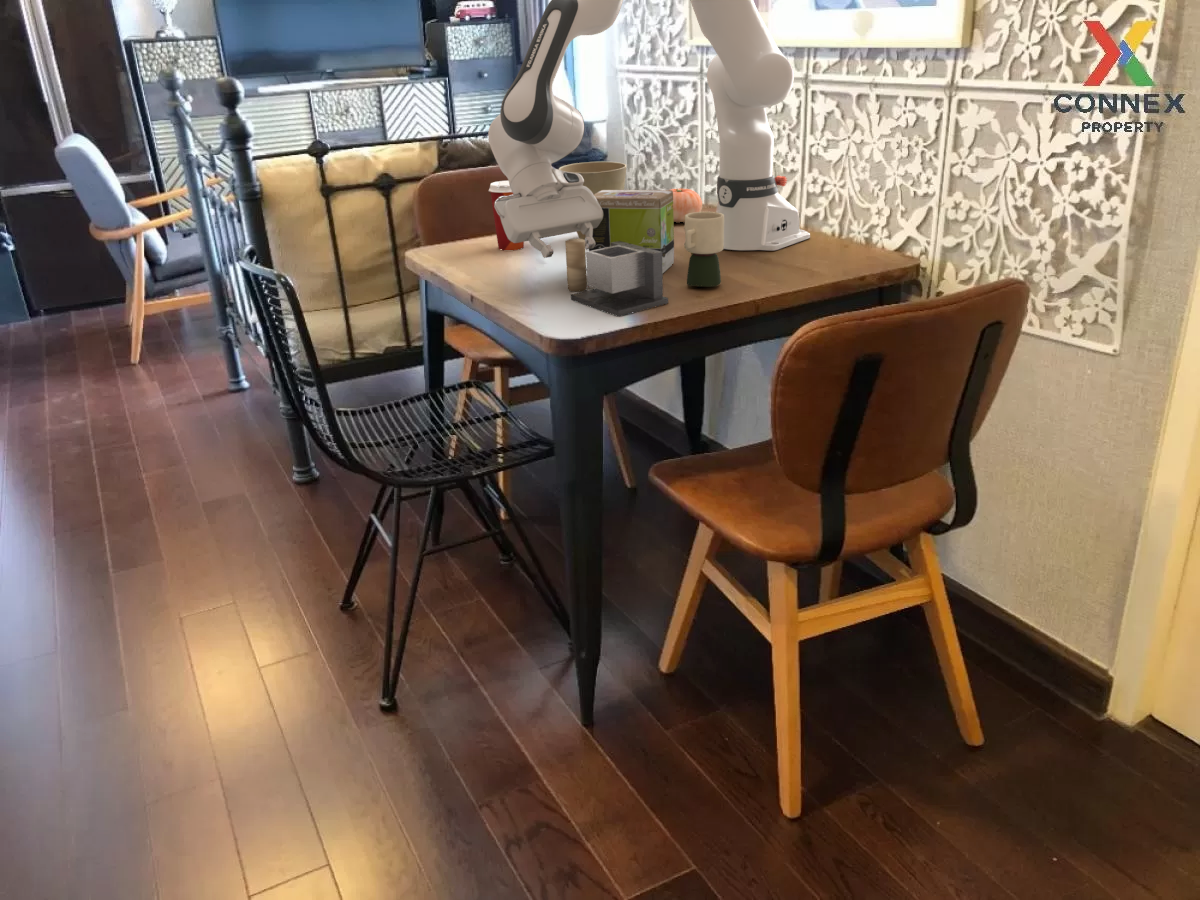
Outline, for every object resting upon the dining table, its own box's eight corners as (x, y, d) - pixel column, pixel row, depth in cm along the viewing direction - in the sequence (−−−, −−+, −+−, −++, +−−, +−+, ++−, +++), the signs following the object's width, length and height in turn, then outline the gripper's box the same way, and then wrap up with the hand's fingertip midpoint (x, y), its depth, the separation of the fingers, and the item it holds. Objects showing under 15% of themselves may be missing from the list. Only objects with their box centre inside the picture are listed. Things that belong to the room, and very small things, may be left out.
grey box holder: (619, 288, 173) (617, 239, 169) (668, 303, 163) (667, 252, 159) (570, 299, 167) (568, 249, 164) (618, 316, 157) (616, 263, 153)
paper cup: (523, 252, 202) (518, 186, 196) (489, 251, 204) (483, 186, 198) (532, 243, 209) (528, 179, 203) (499, 243, 211) (494, 179, 205)
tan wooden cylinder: (579, 285, 176) (577, 237, 172) (590, 289, 173) (588, 240, 170) (564, 289, 174) (561, 240, 170) (575, 292, 171) (572, 244, 168)
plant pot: (588, 229, 220) (585, 160, 213) (640, 235, 212) (639, 163, 205) (549, 242, 209) (544, 169, 202) (603, 249, 201) (600, 173, 195)
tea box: (675, 263, 188) (674, 188, 182) (661, 276, 180) (661, 198, 173) (604, 260, 193) (602, 187, 187) (588, 272, 184) (585, 196, 178)
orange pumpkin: (710, 219, 226) (711, 185, 222) (685, 227, 218) (685, 193, 215) (673, 215, 232) (673, 182, 229) (648, 223, 224) (647, 189, 221)
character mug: (704, 277, 178) (704, 208, 172) (736, 282, 174) (737, 211, 168) (670, 290, 171) (670, 218, 165) (703, 296, 166) (704, 222, 161)
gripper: (495, 187, 167) (528, 250, 164) (588, 173, 178) (620, 232, 175) (485, 209, 172) (517, 271, 169) (575, 194, 183) (607, 252, 180)
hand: (570, 251), depth 172 cm, fingers open, 8 cm apart
